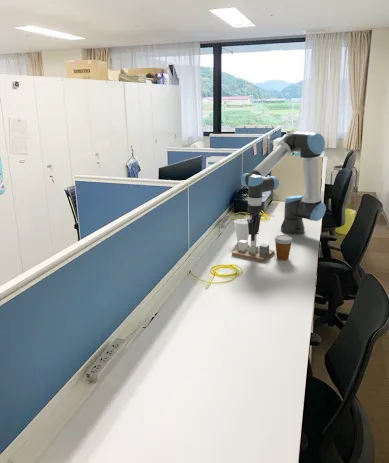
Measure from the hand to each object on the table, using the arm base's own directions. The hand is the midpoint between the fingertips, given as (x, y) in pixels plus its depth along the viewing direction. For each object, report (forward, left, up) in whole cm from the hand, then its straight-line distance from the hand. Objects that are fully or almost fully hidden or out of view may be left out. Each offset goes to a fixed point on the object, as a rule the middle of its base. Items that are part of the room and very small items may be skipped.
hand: (253, 245), depth 228 cm
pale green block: (0, 0, -5) cm, 5 cm away
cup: (-15, -14, -6) cm, 21 cm away
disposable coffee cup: (-4, +16, -6) cm, 17 cm away
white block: (0, -6, -4) cm, 7 cm away
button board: (0, 0, -6) cm, 6 cm away
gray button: (0, +7, -4) cm, 7 cm away
